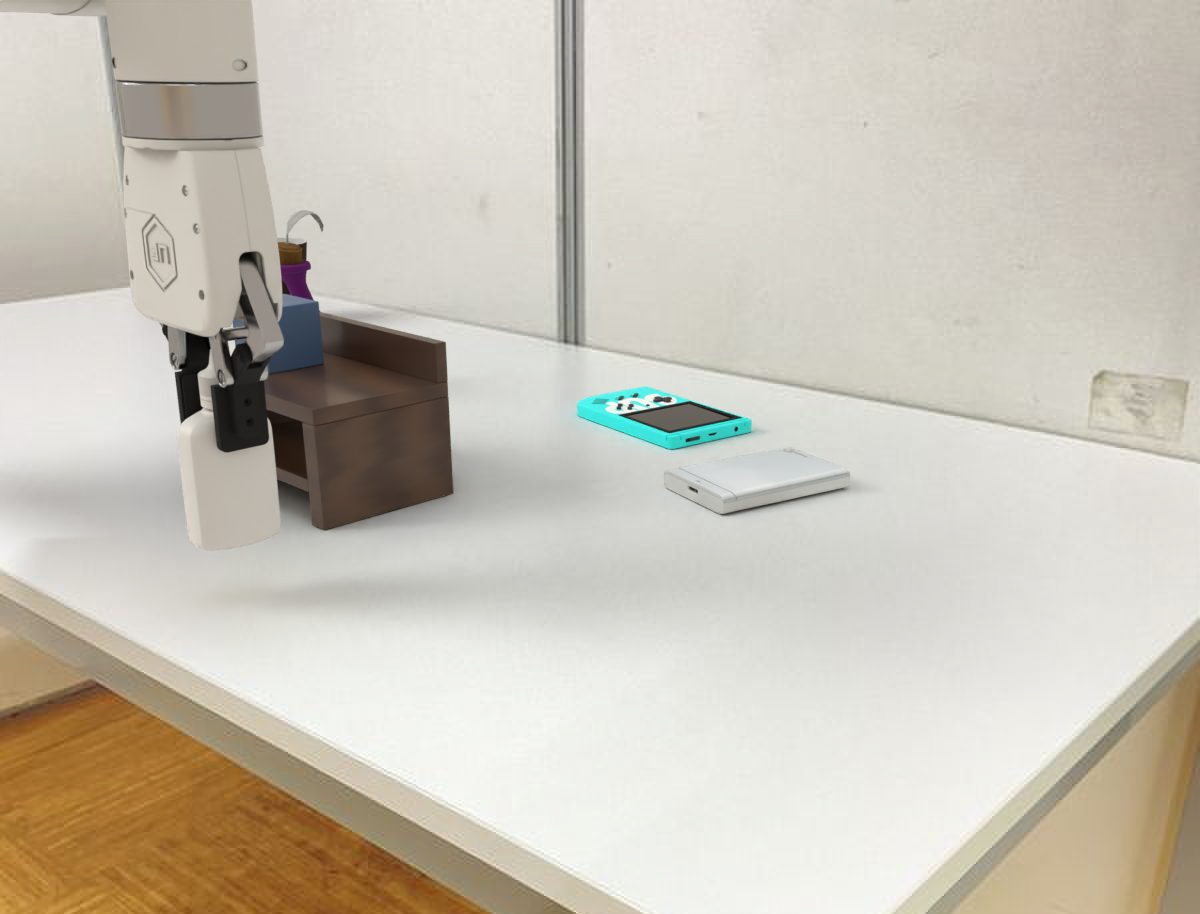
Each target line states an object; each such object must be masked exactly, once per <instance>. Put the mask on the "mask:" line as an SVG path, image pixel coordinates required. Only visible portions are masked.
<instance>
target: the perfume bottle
mask: <svg viewBox="0 0 1200 914" xmlns="http://www.w3.org/2000/svg"><path fill="white" fill-rule="evenodd" d="M309 215H310V216H311V217H312V218H313V219H314V220H315V222H316V223H317V224H318V226H319V229H320V231H321V233H323V231H324V227H325V225H324V223H323V221H322V219H321V217H320V216H319V215H318V214H317V213H316V212H314V211H311V210H306V209H305V210H297V211H295V212H293V213H292V214H291V215H290V216H289V218H288V220H287V221H286V235H285V238H286V242H278V250H279V258H280V268H281V279H282V280H283V281H284V282H285V284H286V286H287V288H288V289H289V292H290V294H291V295H292V296H296V297H301V298H305V299H309V300H314V297H313V295H312V293H311V291H310V288H309V286H308V283H307V273H308V271H310V270H311V269H312V264H311V262H310V261H309V260H302V248H301V247H300V246H299V245H297V244H293V243H288V238H289V233H290V232H291V230H292V229H293V227H294V226H295V225H296V224H297V223H298V222H299V221H300V220H301V219H303V218H304V217H306V216H309ZM314 301H315V300H314ZM319 312H321V310H320V309H319Z"/></svg>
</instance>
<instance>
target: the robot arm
mask: <svg viewBox="0 0 1200 914" xmlns="http://www.w3.org/2000/svg"><path fill="white" fill-rule="evenodd" d="M253 11H254V10H253V0H0V13H24V14H25V13H29V14H50V15H54V16H68V17H69V16H70V17H106V23H107V25H106V26H107V31H108V39H109V47H110V55H111V56H110V57H111V62H112V70H113V79H114V80H115V81H114V86H115V87H114V88H115V95H116V102H117V103H116V104H117V111H118V118H119V119H118V120H119V124H120V125H119V127H120V134H121V143H122V146H123V147H124V152H123V174H122V175H123V176H122V178H123V179H122V180H123V183H122V184H123V187H122V188H123V189H122V190H123V211H124V227H125V228H124V229H125V240H126V254H127V263H128V264H127V265H128V275H129V284H130V294H131V301H132V304H133V306H134V308H135V309H136V310H137V311H138V312H139V314H141V315H142V316H144V317H145V318H147V319H149V320H152V321H154V322H156V323H158V324H159V325H160V326H161V332H162V334H163V336H164V337H165V338H166V340H167V343H168V344H167V345H168V358H169V364H170V366H171V368H172V369H173V370H174V379H175V386H176V396H177V405H178V411H179V421H180V424H181V423H182V422H183V421H185V420H186V419H187V418H189V417H190V416H192V415H193V414H195V413H197V412H199V411H200V410H202V409H203V408H204V407H202V406H201V401H200V392H199V383H198V373H199V372H200V371H202V370H204V369H206V368H207V367H208V365H209V356H210V349H211V352H212V358H213V363H214V369H215V375H216V379H217V382H218V384H216V385H211V386H210V388H211V397H212V406H213V415H214V424H215V434H216V443H217V448H218V449H219V450H221V451H223V452H226V453H228V452H233V451H237V450H242V449H247V448H251V447H256V446H261V445H265V444H266V443H267V442H268V441H269V430H268V419H267V409H266V398H265V387H264V380H266V379H267V378H268V368H267V364H268V362H269V361H270V358H271V356H272V355H274V354H275V353H276V352H277V351H278V350H279V349H280V348H282V346H283V344H284V338H283V334H282V332H281V329H280V326H279V324H278V322H279V320H280V319H281V316H282V279H281V268H280V258H279V250H278V242H277V238H278V236H277V229H276V220H275V215H274V207H273V203H272V196H271V193H270V192H271V191H270V186H269V180H268V176H267V171H266V166H265V163H264V162H265V161H264V158H263V153H262V147H264V146H265V140H264V139H265V138H264V131H263V129H264V128H263V118H262V107H261V106H262V105H261V95H260V84H259V69H258V58H257V48H256V45H257V44H256V34H255V22H254V12H253ZM234 319H236V320H239V321H243V322H244V325H245V326H243V327H236V328H233V327H231V326H233V320H234ZM239 339H245V342H244V343H242V344H237V345H236V347H235V346H234V349H233V351H232V352H231V350H230V346H229V342H232V341H235V340H239Z"/></svg>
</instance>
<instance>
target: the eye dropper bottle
mask: <svg viewBox="0 0 1200 914" xmlns="http://www.w3.org/2000/svg"><path fill="white" fill-rule="evenodd" d="M198 383H199V392H200V401H201V406H202V407H204V408H203V409H202V410H200V411H199V412H197V413H195V414H193V415H192V416H190V417H189V418H187V419H186V420H185V421H183V422H182V423H181V422H180V425H179V426H178V427H177V430H176V443H177V444H176V445H177V453H178V463H179V472H180V481H181V488H182V496H183V504H184V505H183V506H184V512H185V513H184V514H185V522H186V529H187V537H188V539H189V541H190V543H191V544H193V545H194V546H196V547H197V548H200V549H202V550H203V551H209V552H213V551H215V552H217V551H223V550H224V551H225V550H232V549H237V548H242V547H243V548H244V547H246V546H250V545H254V544H256V543H260V542H262V541H265V540H267V539H270V538H272V537H273V536H275V535H277V534H279V532H280V531H281V527H282V521H281V510H280V498H279V488H278V479H277V475H276V464H275V454H274V444H273V435H272V427H271V423H270V421H269V419H268V418H267V419H268V430H269V441H268V442H267V443H266V444H265V445H261V446H256V447H251V448H247V449H242V450H237V451H233V452H228V453H226V452H223V451H221V450H219V449H218V448H217V443H216V434H215V424H214V415H213V406H212V397H211V388H210V386H211V385H216V384H218V382H217V379H216V375H215V369H214V363H213V358H212V352H211V349H210V356H209V365H208V367H207V368H206V369H204V370H202V371H200V372H199V373H198Z"/></svg>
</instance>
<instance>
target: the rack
mask: <svg viewBox="0 0 1200 914" xmlns="http://www.w3.org/2000/svg"><path fill="white" fill-rule="evenodd" d="M320 324H321V335H322V346H323V357H324V364H322V365H316V366H311V367H305V368H300V369H295V370H289V371H284V372H279V373H273V374H268V378H267V379H266V380H264V387H265V398H266V409H267V418H268V419H269V421H270V423H271V427H272V435H273V444H274V454H275V464H276V475H277V481H281V482H283V483H286V484H287V485H290V486H293V487H295V488H298V489H300V490H302V491H305V492H306V493H308V494H309V495H308V496H309V505H310V507H309V508H310V516H311V525H312V526H314V527H315V528H318V529H321V530H323V531H327V530H329V529H333V528H338V527H340V526H343V525H348V524H351V523H354V522H358V521H361V520H364V519H368V518H372V517H376V516H378V515H382V514H386V513H389V512H392V511H396V510H399V509H402V508H403V509H404V508H407V507H410V506H414V505H418V504H420V503H424V502H427V501H431V500H435V499H438V498H442V497H445V496H449V495H452V494H454V477H453V458H452V440H451V439H452V437H451V436H452V435H451V420H450V397H449V383H448V381H449V380H448V379H449V377H448V376H449V375H448V359H447V357H448V356H447V342H446V341H444V340H439V339H436V338H432V337H426V336H423V335H418V334H415V333H410V332H406V331H401V330H397V329H393V328H390V327H384V326H381V325H376V324H373V323H369V322H364V321H360V320H356V319H352V318H347V317H343V316H339V315H334V314H331V313H327V312H323V311H320Z"/></svg>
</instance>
